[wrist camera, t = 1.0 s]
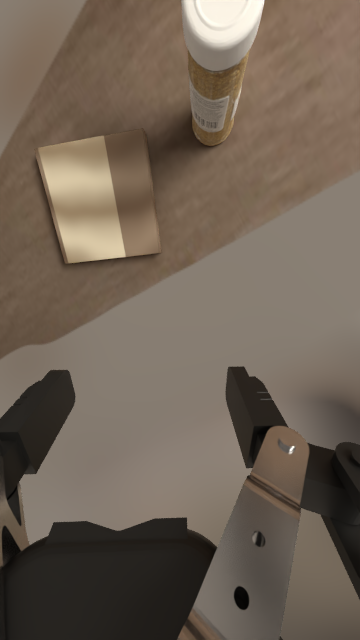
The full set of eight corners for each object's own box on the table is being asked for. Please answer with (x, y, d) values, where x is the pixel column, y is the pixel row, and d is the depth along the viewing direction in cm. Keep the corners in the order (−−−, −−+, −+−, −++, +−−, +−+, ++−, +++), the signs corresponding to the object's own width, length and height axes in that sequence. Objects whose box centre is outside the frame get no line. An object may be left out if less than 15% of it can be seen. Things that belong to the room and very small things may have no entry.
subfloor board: (42, 153, 27) (33, 148, 25) (146, 134, 25) (142, 128, 24) (71, 262, 31) (65, 263, 29) (161, 252, 29) (159, 252, 28)
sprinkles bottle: (241, 119, 24) (288, -25, 11) (212, 157, 25) (223, 68, 12) (211, 85, 23) (223, -110, 10) (182, 126, 24) (162, -1, 12)
